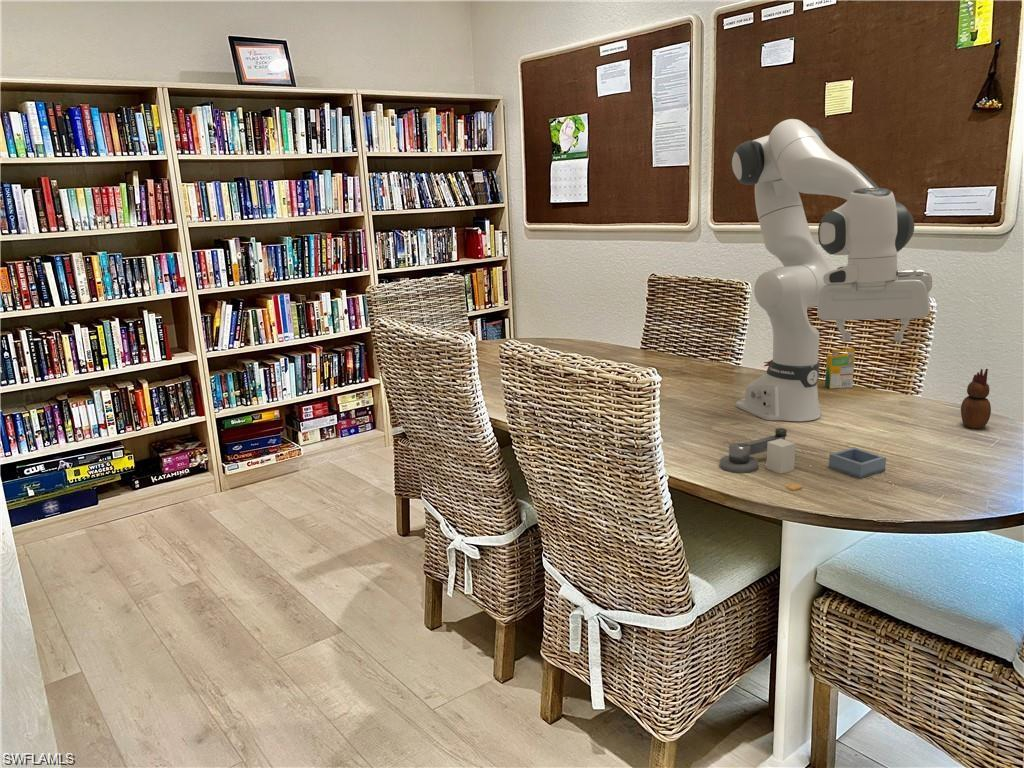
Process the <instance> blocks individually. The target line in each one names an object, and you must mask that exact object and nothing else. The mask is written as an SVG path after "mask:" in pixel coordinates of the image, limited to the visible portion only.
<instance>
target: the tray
mask: <svg viewBox="0 0 1024 768" xmlns="http://www.w3.org/2000/svg"><path fill="white" fill-rule="evenodd" d="M828 458H829V461H828V468H829V469H832V470H836V471H837V472H840V473H844V474H846V475H849V476H851V477H854V478H857V479H863V478H867V477H870V476H873V475H877V474H879V473H883V472H886V464H887V457H886V456H882V455H879V454H877V453H873V452H871V451H867V450H864V449H861V448H858V447H851V448H847V449H846V448H845V449H843V450H840V451H836V452H833V453H830V454H829V457H828Z"/></svg>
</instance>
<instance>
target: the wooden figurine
mask: <svg viewBox="0 0 1024 768" xmlns="http://www.w3.org/2000/svg"><path fill="white" fill-rule="evenodd" d="M983 371H984V370H983V368H981V369H980V371H979V372H977V373H976V374H974V375H973V378H972V380H971V382H969V383H968V385H967V388H966V393H967V395H968V396H966V397H965V398H963V399H962V402H961V405H960V416H961V421H962V424H963V425H964V426H965V427H968V428H970V429H978V430H979V429H982V428H985V427H986V425H987V424H988V422H989V420H990V419H991V415H992V414H991V413H992V406H991V402H990V400H989V399H988V398H987V397H988V396H989V394H990V385H989V384H988V371H989V369H988V368H986V369H985V371H984V373H983Z"/></svg>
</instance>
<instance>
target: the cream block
mask: <svg viewBox="0 0 1024 768" xmlns="http://www.w3.org/2000/svg"><path fill="white" fill-rule="evenodd" d="M795 458H796V443H795V442H792V441H790V440H787V439H785V440H784V439H777V440H773V441H769V442H767V451H766V461H765V462H766V465H765V466H766V469H767V470H770V471H772V472H775V473H778V474H780V475H782V474H785V473H788V472H791V471H795V461H796V460H795Z"/></svg>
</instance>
